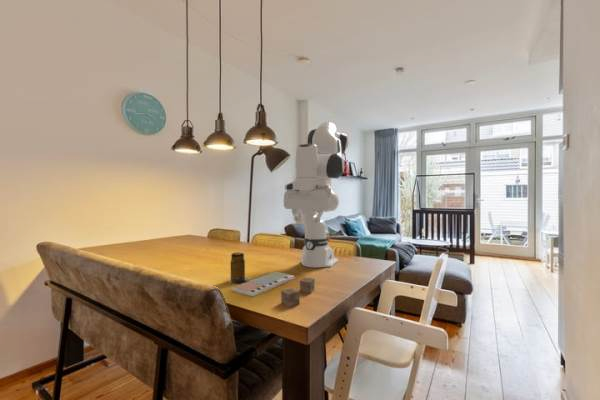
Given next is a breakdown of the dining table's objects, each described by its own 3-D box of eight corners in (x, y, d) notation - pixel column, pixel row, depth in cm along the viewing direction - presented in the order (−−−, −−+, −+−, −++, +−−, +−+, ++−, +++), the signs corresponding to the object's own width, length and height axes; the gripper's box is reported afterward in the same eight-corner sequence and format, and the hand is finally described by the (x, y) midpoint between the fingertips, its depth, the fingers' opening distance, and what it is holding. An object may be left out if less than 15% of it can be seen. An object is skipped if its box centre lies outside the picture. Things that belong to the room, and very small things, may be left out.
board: (275, 274, 133) (275, 271, 133) (294, 278, 127) (294, 275, 127) (232, 290, 111) (232, 287, 111) (252, 296, 105) (252, 292, 105)
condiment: (233, 278, 128) (233, 251, 127) (251, 279, 126) (251, 252, 126) (227, 283, 120) (226, 255, 120) (246, 284, 119) (245, 255, 119)
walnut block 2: (303, 288, 114) (303, 277, 114) (314, 289, 112) (314, 278, 112) (300, 292, 109) (300, 280, 109) (311, 293, 108) (311, 281, 108)
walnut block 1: (292, 300, 101) (292, 288, 101) (299, 304, 98) (299, 291, 98) (281, 303, 99) (281, 290, 99) (288, 307, 95) (288, 294, 95)
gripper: (334, 185, 106) (334, 222, 107) (290, 186, 118) (290, 219, 118) (326, 185, 101) (326, 223, 102) (281, 185, 113) (281, 220, 113)
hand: (307, 221), depth 110 cm, fingers open, 8 cm apart
